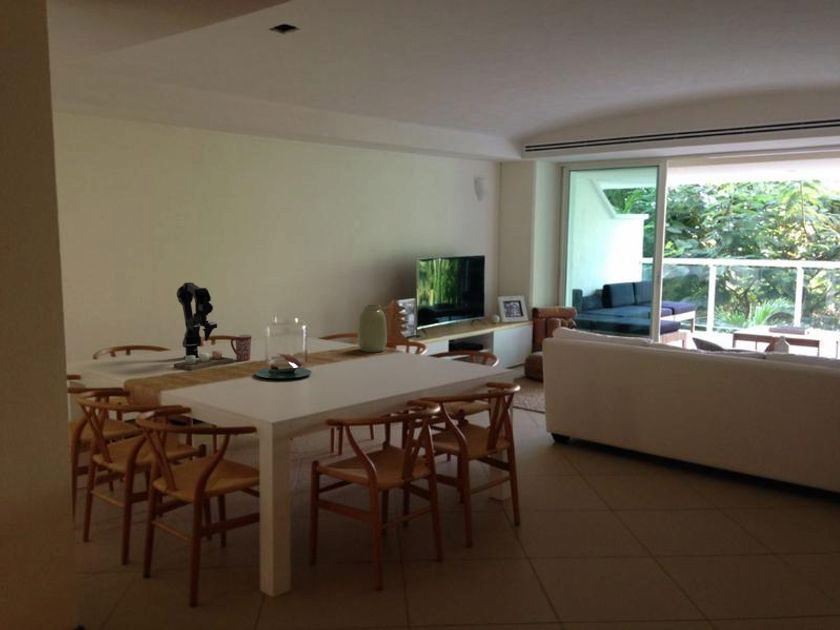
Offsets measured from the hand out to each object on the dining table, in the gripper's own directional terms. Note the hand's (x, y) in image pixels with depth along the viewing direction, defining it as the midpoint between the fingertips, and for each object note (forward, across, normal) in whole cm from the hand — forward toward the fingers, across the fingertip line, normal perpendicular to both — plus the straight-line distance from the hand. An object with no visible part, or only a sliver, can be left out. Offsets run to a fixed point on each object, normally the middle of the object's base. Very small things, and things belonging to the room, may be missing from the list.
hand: (201, 340), depth 395 cm
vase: (+12, +52, +85) cm, 101 cm away
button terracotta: (+10, +7, +4) cm, 13 cm away
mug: (+12, +11, +18) cm, 24 cm away
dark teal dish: (+12, +59, -1) cm, 60 cm away
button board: (+12, +7, -5) cm, 15 cm away
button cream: (+10, +7, -5) cm, 13 cm away
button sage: (+10, +7, -14) cm, 18 cm away
